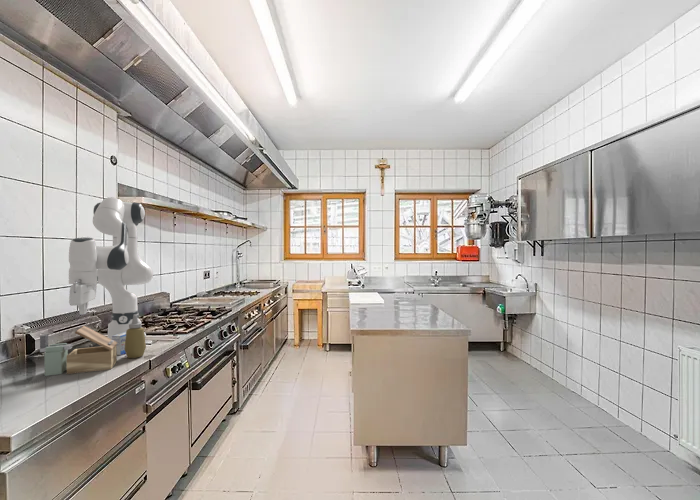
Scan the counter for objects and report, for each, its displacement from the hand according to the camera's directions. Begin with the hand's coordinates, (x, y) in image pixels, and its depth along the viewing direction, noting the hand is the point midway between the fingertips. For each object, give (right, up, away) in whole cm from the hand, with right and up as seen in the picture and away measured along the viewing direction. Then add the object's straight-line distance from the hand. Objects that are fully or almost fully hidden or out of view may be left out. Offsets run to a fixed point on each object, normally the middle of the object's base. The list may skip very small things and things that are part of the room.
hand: (83, 314), depth 136 cm
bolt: (-8, -13, -3) cm, 16 cm away
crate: (+3, -22, +1) cm, 22 cm away
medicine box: (+2, -22, +22) cm, 31 cm away
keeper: (-8, -22, -3) cm, 23 cm away
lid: (+4, -10, +2) cm, 11 cm away
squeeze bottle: (+11, -22, +16) cm, 29 cm away
